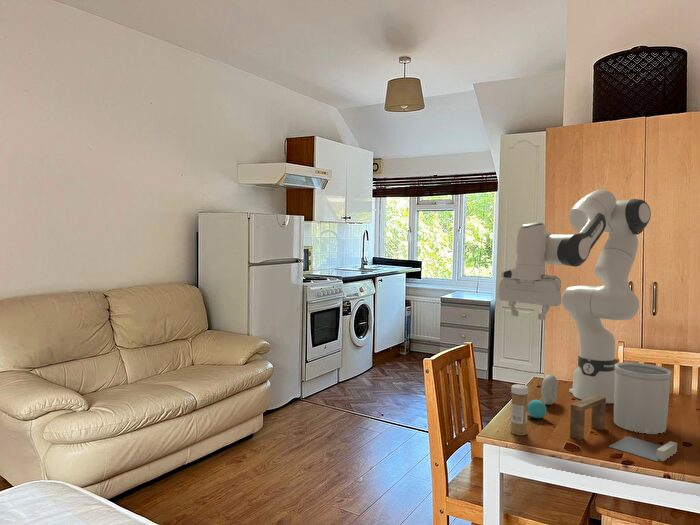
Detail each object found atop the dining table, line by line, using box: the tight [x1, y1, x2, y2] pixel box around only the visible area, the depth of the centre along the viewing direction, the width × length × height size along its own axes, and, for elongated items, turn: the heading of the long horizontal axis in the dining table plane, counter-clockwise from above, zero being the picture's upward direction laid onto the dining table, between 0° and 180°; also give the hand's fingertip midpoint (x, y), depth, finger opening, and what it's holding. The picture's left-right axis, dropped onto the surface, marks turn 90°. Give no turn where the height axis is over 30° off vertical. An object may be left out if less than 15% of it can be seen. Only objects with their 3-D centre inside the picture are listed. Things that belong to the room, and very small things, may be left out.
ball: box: [527, 399, 547, 419], centre depth 163 cm, size 6×6×6 cm
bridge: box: [569, 395, 607, 441], centre depth 151 cm, size 3×14×9 cm, turn 130°
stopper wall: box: [656, 440, 678, 462], centre depth 135 cm, size 9×2×2 cm, turn 130°
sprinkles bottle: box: [510, 383, 529, 436], centre depth 150 cm, size 5×5×13 cm
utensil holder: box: [613, 361, 673, 435], centre depth 157 cm, size 15×15×18 cm
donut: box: [540, 374, 559, 406], centre depth 177 cm, size 10×4×10 cm, turn 143°
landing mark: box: [608, 435, 663, 463], centre depth 140 cm, size 12×12×1 cm
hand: (527, 317), depth 167 cm, fingers open, 8 cm apart
